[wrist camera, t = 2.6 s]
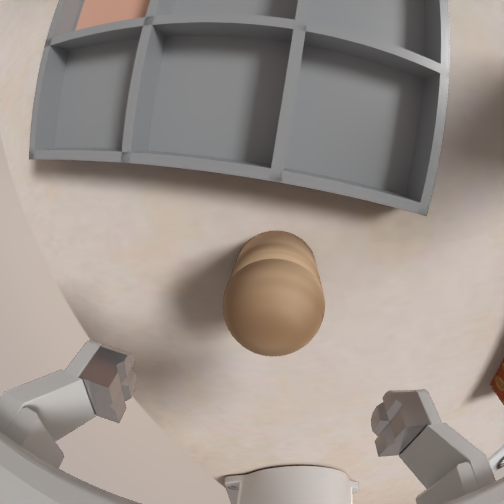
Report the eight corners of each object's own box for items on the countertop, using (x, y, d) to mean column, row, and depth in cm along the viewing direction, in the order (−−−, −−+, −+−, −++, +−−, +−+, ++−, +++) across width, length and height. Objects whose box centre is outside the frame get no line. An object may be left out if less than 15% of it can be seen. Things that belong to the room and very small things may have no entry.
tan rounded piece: (305, 308, 19) (313, 383, 13) (232, 296, 19) (209, 366, 13) (323, 238, 17) (346, 294, 11) (242, 224, 18) (218, 272, 11)
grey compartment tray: (407, 205, 16) (426, 216, 13) (54, 155, 17) (29, 159, 14) (427, -14, 10) (443, -29, 7) (97, -34, 11) (79, -46, 8)
